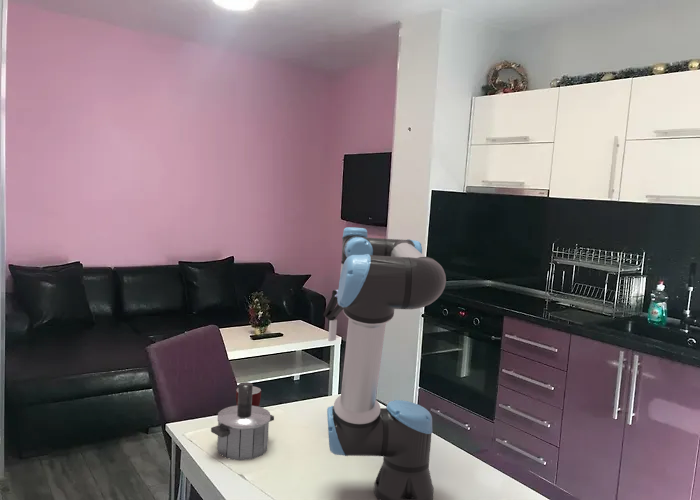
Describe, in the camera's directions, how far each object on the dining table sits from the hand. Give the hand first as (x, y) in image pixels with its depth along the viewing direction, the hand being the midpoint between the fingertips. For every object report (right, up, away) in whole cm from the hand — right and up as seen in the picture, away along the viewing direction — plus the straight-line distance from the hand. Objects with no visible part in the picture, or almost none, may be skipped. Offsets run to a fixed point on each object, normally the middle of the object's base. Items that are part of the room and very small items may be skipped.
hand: (347, 345), depth 178 cm
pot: (-31, -28, -12) cm, 43 cm away
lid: (-30, -21, -13) cm, 39 cm away
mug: (-33, -26, +8) cm, 43 cm away
